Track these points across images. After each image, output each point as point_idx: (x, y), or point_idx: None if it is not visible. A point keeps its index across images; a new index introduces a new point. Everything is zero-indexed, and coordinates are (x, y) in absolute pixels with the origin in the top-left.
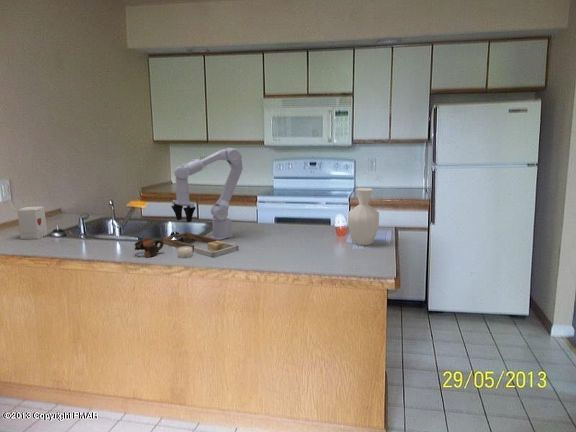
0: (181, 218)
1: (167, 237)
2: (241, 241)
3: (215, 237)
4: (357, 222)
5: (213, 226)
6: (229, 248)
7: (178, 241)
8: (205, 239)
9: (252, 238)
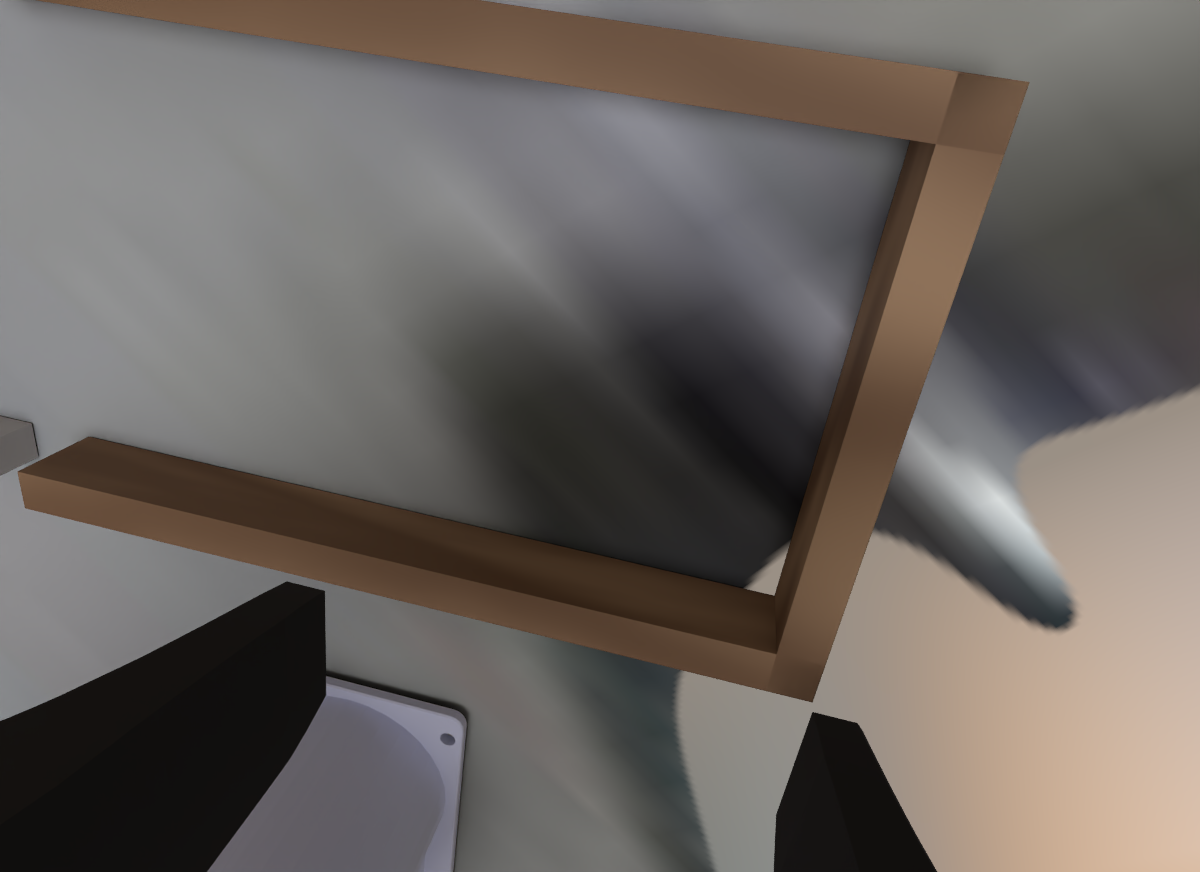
0: (776, 847)
1: (914, 208)
2: (30, 695)
3: (331, 701)
4: None
5: (271, 855)
6: None
7: (403, 52)
8: (262, 510)
9: None
